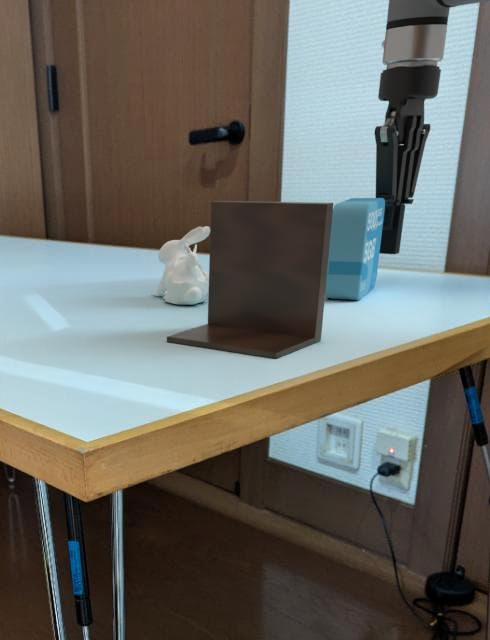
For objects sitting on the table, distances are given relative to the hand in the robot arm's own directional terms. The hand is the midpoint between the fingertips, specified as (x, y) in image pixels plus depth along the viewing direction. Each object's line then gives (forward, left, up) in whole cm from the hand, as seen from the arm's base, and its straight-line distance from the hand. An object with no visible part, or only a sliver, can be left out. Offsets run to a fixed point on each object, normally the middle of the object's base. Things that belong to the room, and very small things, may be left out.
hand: (387, 253), depth 117 cm
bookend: (-3, +43, -4) cm, 44 cm away
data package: (0, +11, -4) cm, 12 cm away
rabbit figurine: (+17, +26, -4) cm, 31 cm away
